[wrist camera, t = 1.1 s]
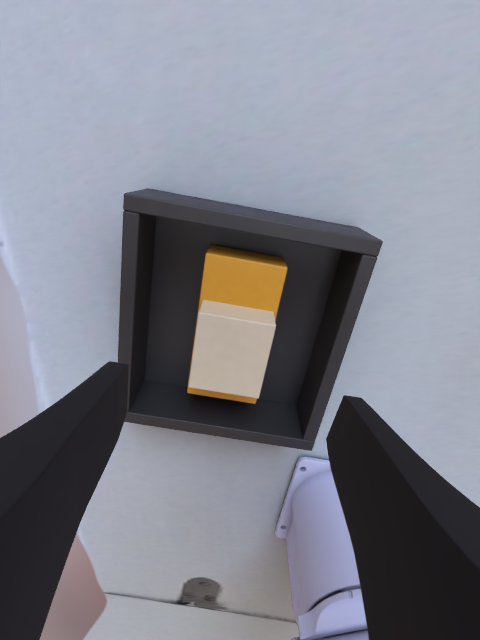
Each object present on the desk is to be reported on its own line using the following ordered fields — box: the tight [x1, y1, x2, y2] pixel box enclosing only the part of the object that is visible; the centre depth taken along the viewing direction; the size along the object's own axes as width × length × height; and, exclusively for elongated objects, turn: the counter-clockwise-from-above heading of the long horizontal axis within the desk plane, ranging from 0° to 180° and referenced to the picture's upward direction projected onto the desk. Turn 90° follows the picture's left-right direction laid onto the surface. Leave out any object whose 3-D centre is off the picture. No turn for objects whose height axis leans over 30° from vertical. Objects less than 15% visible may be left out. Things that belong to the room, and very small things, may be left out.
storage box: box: [118, 189, 383, 451], centre depth 21 cm, size 14×13×4 cm
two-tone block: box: [187, 245, 288, 404], centre depth 20 cm, size 9×4×5 cm, turn 170°
